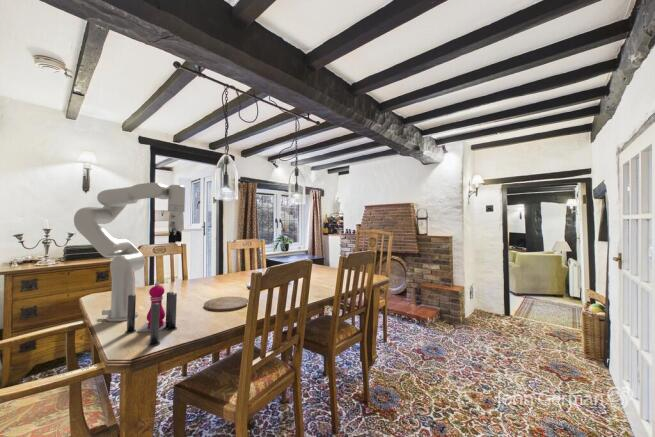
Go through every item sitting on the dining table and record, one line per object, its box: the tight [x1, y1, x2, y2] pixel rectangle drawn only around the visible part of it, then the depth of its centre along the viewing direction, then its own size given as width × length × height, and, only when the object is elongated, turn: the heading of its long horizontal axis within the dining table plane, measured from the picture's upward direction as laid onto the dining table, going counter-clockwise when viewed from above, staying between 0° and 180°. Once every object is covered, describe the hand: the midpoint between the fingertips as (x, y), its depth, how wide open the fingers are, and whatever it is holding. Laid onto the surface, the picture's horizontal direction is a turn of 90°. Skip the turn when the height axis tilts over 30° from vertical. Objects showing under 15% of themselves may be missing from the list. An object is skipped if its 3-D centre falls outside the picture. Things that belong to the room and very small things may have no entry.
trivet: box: [203, 296, 249, 312], centre depth 161 cm, size 25×25×2 cm
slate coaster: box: [136, 321, 166, 333], centre depth 125 cm, size 10×10×1 cm
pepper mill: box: [146, 282, 166, 328], centre depth 125 cm, size 7×7×20 cm
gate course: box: [124, 291, 178, 347], centre depth 115 cm, size 20×22×16 cm
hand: (175, 242), depth 139 cm, fingers open, 9 cm apart
